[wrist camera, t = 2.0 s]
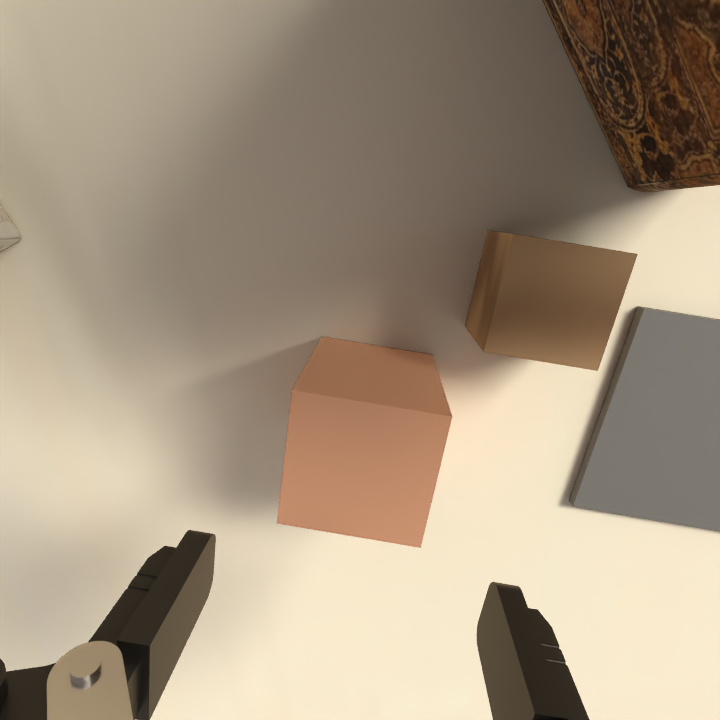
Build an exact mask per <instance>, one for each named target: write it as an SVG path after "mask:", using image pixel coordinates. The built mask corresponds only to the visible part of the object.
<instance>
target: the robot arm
mask: <svg viewBox="0 0 720 720" xmlns="http://www.w3.org/2000/svg"><path fill="white" fill-rule="evenodd" d="M215 542H216V537H215V534H210V533H204V532H198V531H192V530H189V531H187V532H186V534H185V535H184V537H183V538H182V540H181V541H180V543H179V545H178V546H177V548H174V547H169V546H164V547H163V548H161V549H160V550H159V551H157V552H156V553H154V554H153V555H152V556H150V557H149V558H148V559H147V560H146V562H145V563H144V565H143V566H142V567H141V569H140V570H139V572H138V573H137V576H135V577H134V579H133V580H132V582H131V583H130V584H129V586H128V589H126V590H125V591H124V593H123V594H122V596H121V597H120V598H119V600H118V601H117V603H116V604H115V606H114V607H113V608H112V610H111V611H110V613H109V614H108V615H107V617H106V618H105V620H104V621H103V622H102V624H101V625H100V627H99V628H98V630H97V631H96V632H95V634H94V635H93V637H92V638H91V639H90V640H89V642H88V643H85V644H82V645H79V646H77V647H75V648H74V649H72V650H70V651H69V652H67V653H66V654H65V655H63V656H62V657H61V658H60V659H59V660H58V661H57V662H56V663H54V664H51V665H47V666H42V667H36V668H29V669H22V670H15V671H8V672H6V668H5V664H4V663H3V661H2V660H1V659H0V720H135V719H136V720H150V718H151V716H152V714H153V712H154V710H155V708H156V706H157V704H158V701H159V699H160V697H161V695H162V693H163V691H164V689H165V687H166V685H167V682H168V680H169V678H170V676H171V674H172V672H173V670H174V668H175V666H176V664H177V661H178V659H179V657H180V655H181V653H182V651H183V649H184V647H185V645H186V643H187V640H188V638H189V636H190V634H191V632H192V630H193V628H194V626H195V624H196V621H197V619H198V617H199V615H200V613H201V611H202V609H203V607H204V605H205V603H206V600H207V598H208V595H209V592H210V589H211V585H212V581H213V572H214V557H215ZM477 646H478V651H479V656H480V661H481V665H482V670H483V675H484V679H485V684H486V689H487V693H488V698H489V703H490V707H491V712H492V717H493V720H589V718H588V715H587V713H586V710H585V708H584V705H583V703H582V700H581V698H580V696H579V693H578V691H577V688H576V686H575V683H574V681H573V678H572V676H571V673H570V671H569V669H568V666H567V665H566V664H565V662H566V661H565V659H564V656H563V654H562V651H561V650H560V649H559V644H558V642H557V639H556V637H555V634H554V632H553V629H552V627H551V626H550V624H549V623H548V622H547V621H546V620H545V618H544V617H543V616H542V615H541V613H540V612H539V611H538V610H536V609H530V608H528V607H527V604H526V601H525V599H524V596H523V593H522V591H521V589H520V587H518V586H514V585H508V584H502V583H496V582H492V583H491V584H490V585H489V588H488V591H487V595H486V598H485V601H484V604H483V608H482V611H481V614H480V618H479V621H478V626H477Z"/></svg>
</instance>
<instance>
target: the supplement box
mask: <svg viewBox="0 0 720 720" xmlns="http://www.w3.org/2000/svg"><path fill="white" fill-rule="evenodd" d="M20 239H21V235H20V234H19V232H18V231H17V229H16V228H15V226H14V225H13V223H12V222H11V220H10V219H9V217H8V216H7V214H6V213H5V211H4V210H3V208H2V207H1V205H0V252H1V251H2V250H4V249H6V248H7V247H9V246H11V245H13V244H14V243H16V242H18V241H19V240H20Z"/></svg>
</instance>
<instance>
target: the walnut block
mask: <svg viewBox="0 0 720 720" xmlns="http://www.w3.org/2000/svg"><path fill="white" fill-rule="evenodd" d="M636 257H637V254H634V253H628V252H622V251H616V250H610V249H603V248H597V247H591V246H585V245H579V244H573V243H566V242H560V241H554V240H548V239H542V238H536V237H529V236H523V235H517V234H510V233H503V232H495V231H488V230H487V234H486V239H485V243H484V247H483V251H482V256H481V260H480V264H479V269H478V273H477V277H476V281H475V286H474V290H473V294H472V298H471V303H470V307H469V311H468V315H467V320H466V324H465V326H466V328H467V329H468V331H469V332H470V333H471V335H472V336H473V338H474V339H475V340H476V342H477V343H478V345H479V346H480V347H481V349H482V350H483V352H487V353H493V354H499V355H505V356H511V357H518V358H524V359H530V360H536V361H542V362H548V363H554V364H560V365H566V366H572V367H578V368H584V369H590V370H596V371H598V369H599V366H600V363H601V360H602V357H603V354H604V351H605V348H606V345H607V342H608V339H609V336H610V333H611V330H612V328H613V325H614V322H615V319H616V316H617V313H618V310H619V307H620V304H621V301H622V298H623V295H624V292H625V289H626V286H627V284H628V281H629V278H630V275H631V272H632V269H633V266H634V263H635V260H636Z"/></svg>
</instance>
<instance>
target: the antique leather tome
mask: <svg viewBox="0 0 720 720" xmlns="http://www.w3.org/2000/svg"><path fill="white" fill-rule="evenodd" d="M543 2H544V4H545V6H546V9H547V11H548V13H549V15H550V17H551V20H552V22H553V24H554V26H555V28H556V30H557V33H558V35H559V37H560V39H561V41H562V43H563V46H564V48H565V50H566V52H567V54H568V57H569V59H570V61H571V63H572V65H573V67H574V70H575V72H576V74H577V76H578V78H579V81H580V83H581V85H582V87H583V89H584V91H585V94H586V96H587V98H588V100H589V102H590V104H591V107H592V109H593V111H594V113H595V115H596V118H597V120H598V122H599V124H600V126H601V128H602V131H603V133H604V135H605V137H606V139H607V141H608V144H609V146H610V148H611V150H612V152H613V155H614V157H615V159H616V161H617V163H618V165H619V168H620V170H621V172H622V174H623V176H624V179H625V181H626V183H627V185H628V187H630V188H632V189H635V190H638V191H644V192H652V191H662V190H673V189H683V188H693V187H704V186H714V185H720V0H543Z"/></svg>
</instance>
